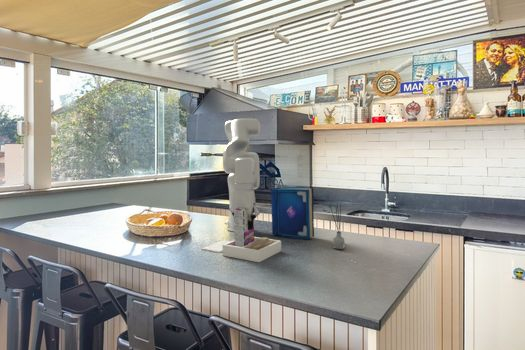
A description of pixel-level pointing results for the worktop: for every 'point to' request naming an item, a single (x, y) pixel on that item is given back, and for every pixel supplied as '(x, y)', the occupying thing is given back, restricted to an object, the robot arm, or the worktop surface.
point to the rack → (251, 251)
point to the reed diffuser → (338, 234)
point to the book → (292, 212)
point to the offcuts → (260, 243)
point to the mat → (216, 247)
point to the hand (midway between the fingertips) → (244, 228)
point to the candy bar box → (242, 228)
